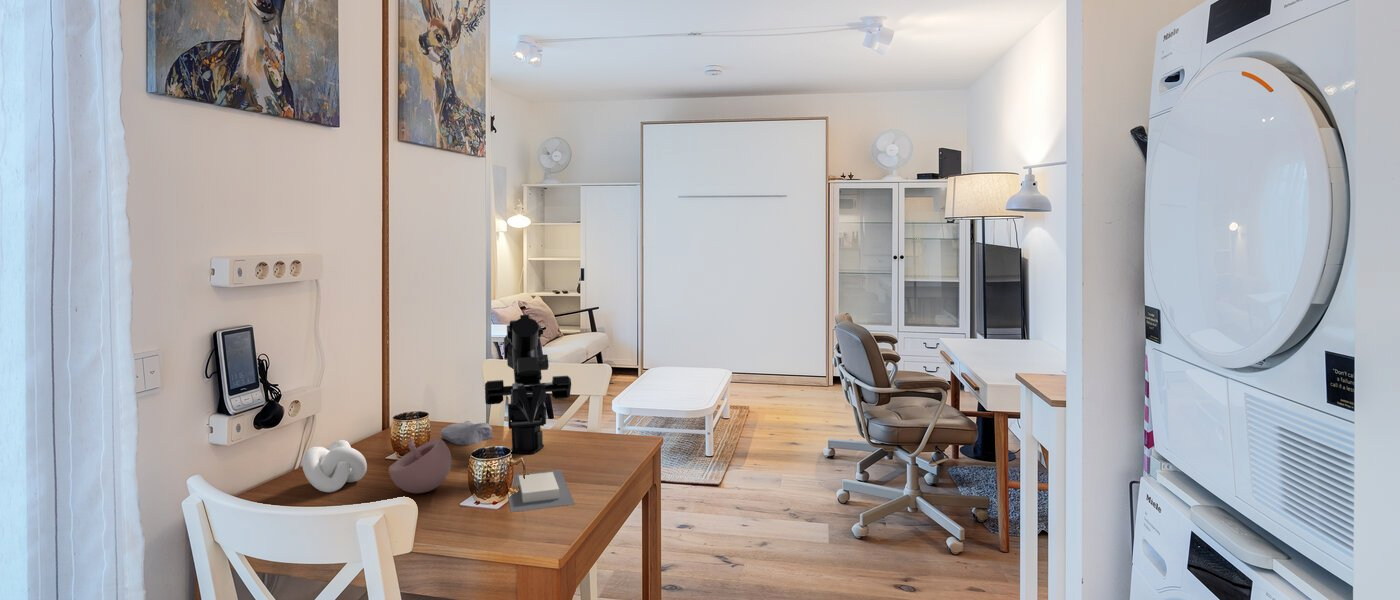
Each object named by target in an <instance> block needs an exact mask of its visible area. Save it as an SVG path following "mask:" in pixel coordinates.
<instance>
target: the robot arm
mask: <svg viewBox="0 0 1400 600" xmlns="http://www.w3.org/2000/svg"><path fill="white" fill-rule="evenodd" d="M542 335H544V329H543V328H542V327H541V326H540V324H539V323H538V321H537V320H536V319H533V318H530V315H529V314H520V317H519V318H518V319H517V320H515V319H514V320H510V321H509V324H507V325H506V336H505V337H504V338H503V351H504V354H503V355H504V360H507V361H506V363H507V367H509V368H511V369H512V370H513V380H514V382H513V383H511V385H504V380H503V379H496V380H495V379H494V380H487V381H486V382H485V383H484V398H485V400H484V401H485V402H484V403H485V404H486V405H497V404H498V405H501V403H502V402H504V397H505V396H510V403H508V404H507V422H508V423H507V424H508V430H511V450H512V452H514V453H513V454H527V453H530V455H532V454H535V453H537V452H538V451H540V450H541V449H543V448H544V447H545V444H544V443H543V439H544V438H543V430H542V429H541V427H544V426H545V425H546V424H547V406H545V403H546V396H547V393H550V392H551V397H552V398H553V399H555V400H561V399H562V400H563V399H569V398H570V397H571V389H572V379H571V378H570V376H569V375H557V376H554V375H553V376H552V380H551V382H542V378H543V376H542V371H548V370H549V366H550V365H549V357H548V356H549V355H548V354H539V356H538V349H537V348H538V344H539V339H540V338H541V337H542ZM539 449H540V450H539ZM536 451H537V452H536Z"/></svg>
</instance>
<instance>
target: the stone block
mask: <svg viewBox="0 0 1400 600" xmlns="http://www.w3.org/2000/svg"><path fill="white" fill-rule="evenodd" d="M441 429H442V430H440V436H441V437H442V438H443V439H444V440H445V439H446V441H448V442H450V443H452V444H455V445H460V446H472V445H475V444H479V443H481V441H482V442H485V441H487V440H491V439H492V438H493V427H492V426H491V424H489V423H487V422H480V423H479V422H478V423H473V422H471V421H469V420H466V421H463V422H458V423H452V424H449V425H447V426H445V427H444V428H441Z"/></svg>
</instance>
